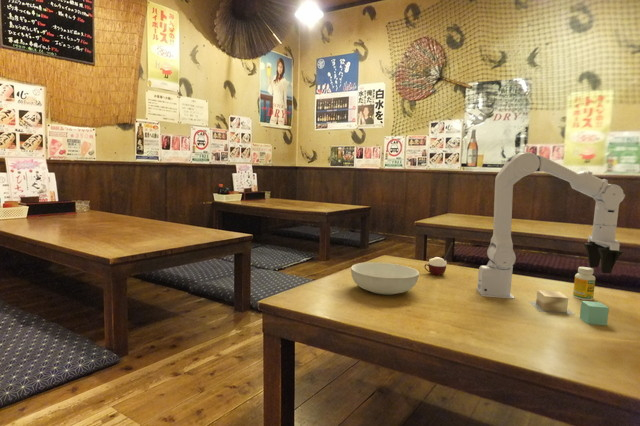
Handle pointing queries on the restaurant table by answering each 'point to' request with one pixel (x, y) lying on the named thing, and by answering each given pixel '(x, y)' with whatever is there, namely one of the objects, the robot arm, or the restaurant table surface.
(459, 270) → the restaurant table surface
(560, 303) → the birch block
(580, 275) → the supplement bottle
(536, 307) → the build pad
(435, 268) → the cocoa
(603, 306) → the teal cube
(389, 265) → the serving bowl
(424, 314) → the restaurant table surface
